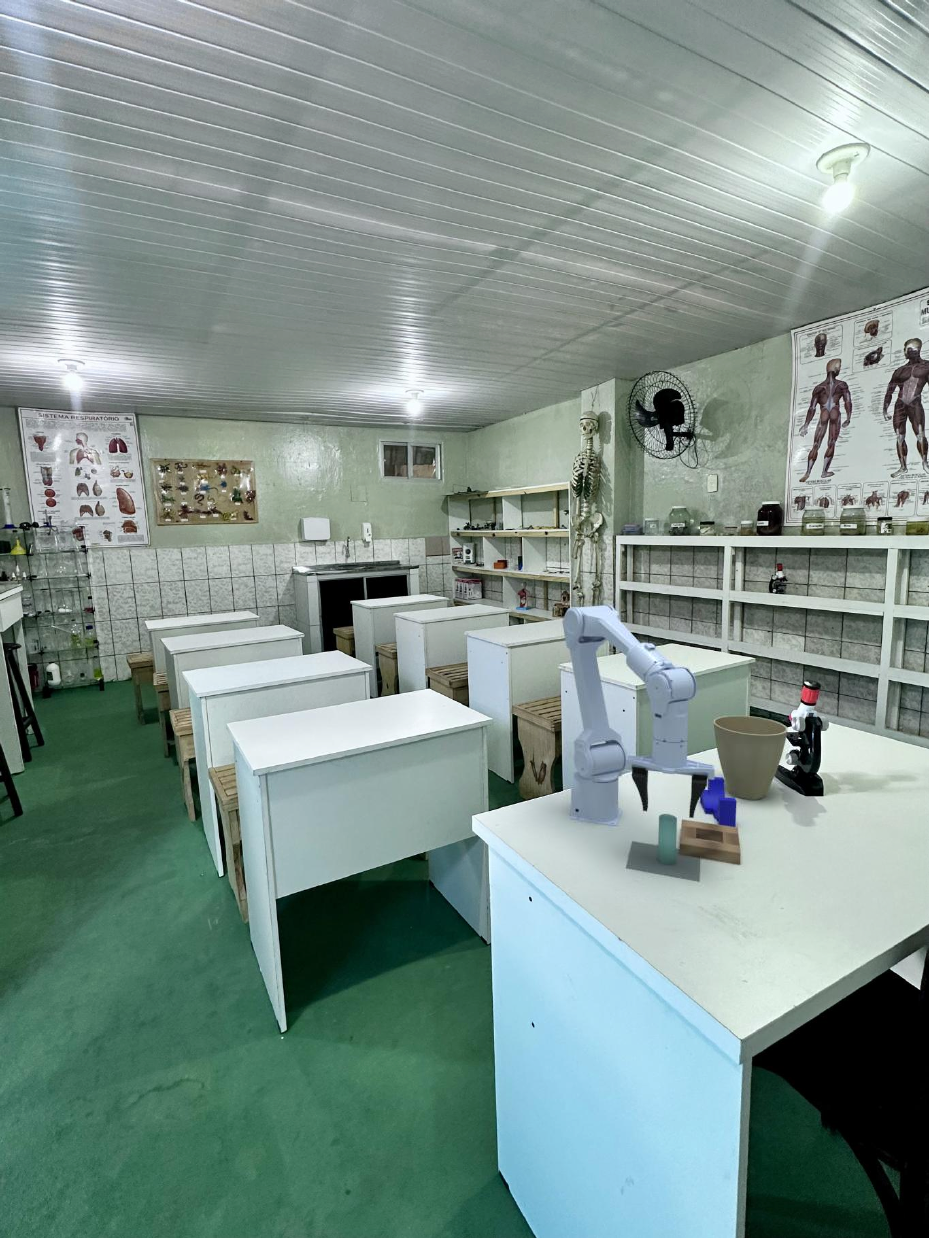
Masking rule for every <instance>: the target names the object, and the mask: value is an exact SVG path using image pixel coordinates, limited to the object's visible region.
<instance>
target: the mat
mask: <svg viewBox="0 0 929 1238" xmlns="http://www.w3.org/2000/svg"><path fill="white" fill-rule="evenodd" d="M629 849H630V850H629V854H628V858H627V862H626V866H625V869H628V870H634V871H639V872H643V873H644V872H645V873H651V874H654V875H661V876H666V877H671V878H677V879H681V880H682V879H683V880H687V881H688V880H689V881H694V882H698V883H699V882H700V881H701V879H700V878H701V877H700V876H701V858H698V857H692V856H687V855H681V854H679V851H680V848H677V847H676V863H675V864H673V865H665V864H662V863H660V862H659V861H658V845H657V844H652V843H645V842H638V841H633V840H632V841H631V845H630V848H629Z"/></svg>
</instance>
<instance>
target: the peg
mask: <svg viewBox="0 0 929 1238" xmlns="http://www.w3.org/2000/svg"><path fill="white" fill-rule="evenodd" d="M677 825H678V818H677V817H676V816H675V815H673V814H668V813H664V814H660V815H658V838H657V839H658V842H657V844H658V861H659V862H660V863H662V864H665V865H673V864H675V863H676V848H677V831H678V830H677V828H678V826H677Z"/></svg>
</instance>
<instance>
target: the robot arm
mask: <svg viewBox="0 0 929 1238" xmlns="http://www.w3.org/2000/svg"><path fill="white" fill-rule="evenodd" d="M562 629H563V633H564V640H565V643H566V644H565V645H566V648H567V649H568V650H569V653H570V658H571V665H572V671H573V676H574V677H573V678H574V682H575V687H576V694H577V699H578V705H579V710H580V716H581V722H582V728H583V731H582V732H581V733H580V734H578V736H577V737H576V738H575V740H574V741H573V746H574V754H573V763H574V767H575V769H576V772H575V771H574V773H573V774H572V779H571V788H570V790H571V791H570V801H571V802H570V820H573V821H578V822H579V821H580V822H585V823H593V824H598V825H603V826H611V827H617V826H618V825H619V821H620V819H621V816H622V812H623V809H622V808H620V807H619V778H620V777H622V776H623V775H622V772H623V771H625V770H630V771H631V778H632V781H633V783H634V784H635V787H636V789H637V791H638V794H639V797H640V800H641V805H642V811H643V812H648V808H649V792H648V791H649V789H648V785H649V784H648V783H649V782H648V781H649V772H657V773H658V772H659V773H663V774H668V775H684V776H691V782H690V784H691V786H690V787H691V788H690V789H691V790H690V792H691V793H690V802H689V813H688V814H689V818H691V819H694V818H695V812H696V807H697V805H698V802H699V801H700V796H701V794H702V793H703V791H704V790H706V788H707V787H708V779H711V780H714V777H715V773H716V772H715V771H716V769H715V764H710V763H703V762H699V761H695V760H690V759H688V738H689V736H688V735H689V705H690V704H689V703H690V700H692V699H694V698H695V696H696V694H697V691H698V685H697V683H698V682H697V680H696V677H695V674H694V673H693V672H692V671H691V670H690V668H688V667H687V666H686V667H685V666H678V665H676V664H675V665H674V664H673V663H672V662H671V660H669V659H667V657H665V656H664V655H663V654H661V653H660V651H658V649H656V648H657V647H656V646H655V645H654V643H650V642H640V641H639V640H638V639H637V638H636V637H635V635H633V634H632V632H631V631H630V630H629V629H628V628H627V627H626V626H625V625H624V623H623V622H622V621H621V616H620V612H619V611H617V610H616V609H615V608H614V606H613V605H611V604H603V605H592V606H579V607H578V606H577V607H576V606H571V607H569V608H568V609H567V610H566V612H565V614H564V617H563V619H562ZM606 642H609V643H610V644H611V645H613V647H615V648H616V649H617V650H618V651H620V653H622V654H623V655H625V656H626V657H625V662H626V666H627V667H628V668H629V669H630V670H631V671H632V672H633V673H634V674H635V675H636V676H637V677H638V678H639V679H640V680H641V681H642V682H643V683H644V684H645V690H646V693H647V696H648V698H649V702H650V709H651V712H652V717H653V718H652V754H651V755H629V754H628V752H627V749H626V748H625V746H624V744H623V741H622V736H621V734H620V733H618V732H617V731H616V730H614V729H613V728H611V727H610V724H609V719H608V713H607V707H606V702H605V697H604V691H603V685H602V679H601V674H600V668H599V663H598V658H597V651H598V650H599V648H600V647H601V646H603V645H604V644H605V643H606ZM596 743H597V744H596Z"/></svg>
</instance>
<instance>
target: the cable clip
mask: <svg viewBox="0 0 929 1238" xmlns="http://www.w3.org/2000/svg"><path fill="white" fill-rule="evenodd" d="M699 802H700V804H701V807H702V810H703V812H704V815H712V816H713V818H714V820H716V821H717V822H718V825H724V826H730V827H736V824H737V823H736V822H737V803H738V802H737V799H736V798H735V797H727V796H726V793H725V778H724V776H723V777H720V776H719V777H718V776H714V780H711V779H707V789H705V790H704V791H703V793H702V794H701V796H700V798H699Z"/></svg>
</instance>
